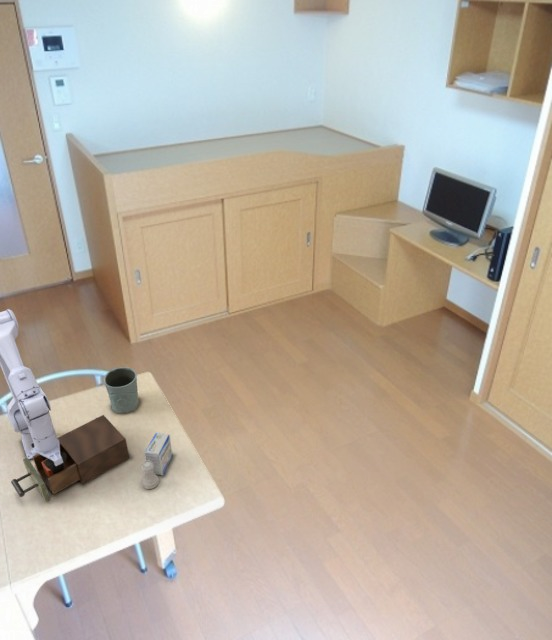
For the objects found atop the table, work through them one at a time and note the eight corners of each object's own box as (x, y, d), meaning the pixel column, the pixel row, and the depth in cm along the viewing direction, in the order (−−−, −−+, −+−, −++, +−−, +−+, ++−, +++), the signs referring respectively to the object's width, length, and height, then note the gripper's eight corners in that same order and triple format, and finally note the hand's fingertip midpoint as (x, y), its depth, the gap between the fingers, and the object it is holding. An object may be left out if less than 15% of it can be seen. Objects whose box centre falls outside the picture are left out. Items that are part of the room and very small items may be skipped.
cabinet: (83, 484, 146) (77, 464, 142) (62, 457, 154) (56, 438, 150) (129, 458, 154) (125, 438, 150) (107, 433, 163) (103, 414, 158)
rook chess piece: (161, 479, 148) (158, 459, 143) (153, 491, 144) (150, 471, 140) (147, 475, 149) (144, 455, 145) (139, 487, 145) (135, 467, 141)
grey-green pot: (127, 391, 180) (122, 363, 173) (148, 402, 175) (143, 374, 168) (103, 407, 173) (96, 378, 166) (124, 420, 168) (118, 391, 161)
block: (45, 473, 147) (41, 461, 144) (60, 465, 149) (57, 453, 147) (51, 483, 144) (47, 471, 142) (67, 474, 147) (64, 462, 144)
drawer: (27, 512, 138) (21, 496, 134) (10, 484, 145) (4, 468, 142) (93, 474, 148) (88, 459, 145) (73, 450, 156) (69, 435, 152)
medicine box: (162, 476, 149) (159, 454, 144) (148, 473, 149) (143, 452, 145) (173, 455, 155) (169, 434, 151) (158, 453, 156) (155, 431, 151)
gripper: (16, 424, 140) (29, 460, 148) (38, 455, 131) (51, 491, 139) (43, 412, 144) (54, 447, 152) (65, 441, 135) (76, 477, 143)
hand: (54, 467), depth 146 cm, fingers open, 6 cm apart
